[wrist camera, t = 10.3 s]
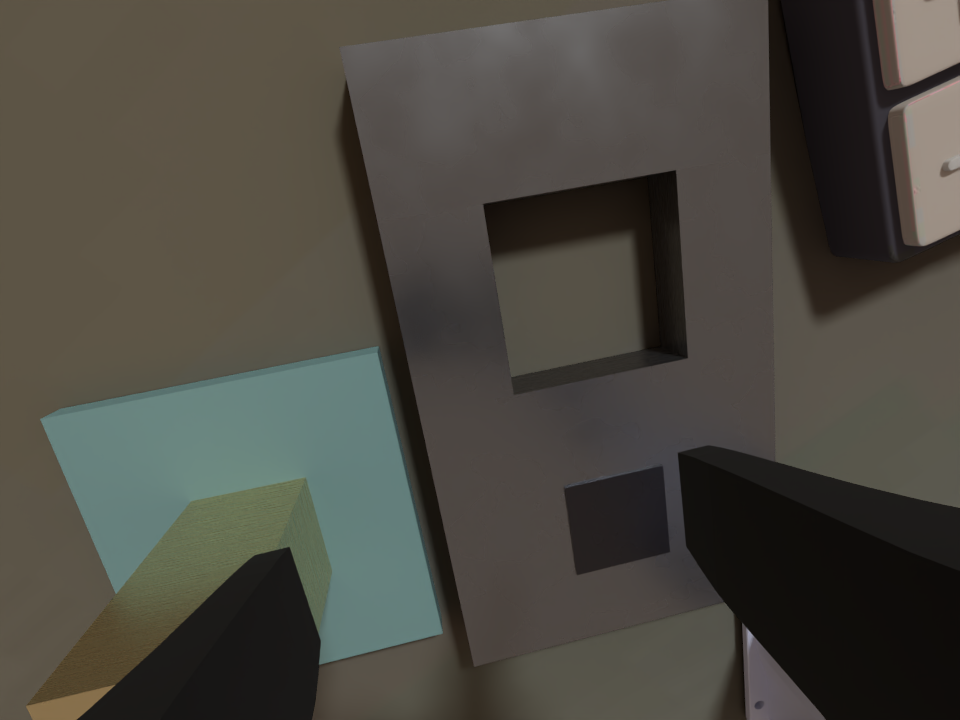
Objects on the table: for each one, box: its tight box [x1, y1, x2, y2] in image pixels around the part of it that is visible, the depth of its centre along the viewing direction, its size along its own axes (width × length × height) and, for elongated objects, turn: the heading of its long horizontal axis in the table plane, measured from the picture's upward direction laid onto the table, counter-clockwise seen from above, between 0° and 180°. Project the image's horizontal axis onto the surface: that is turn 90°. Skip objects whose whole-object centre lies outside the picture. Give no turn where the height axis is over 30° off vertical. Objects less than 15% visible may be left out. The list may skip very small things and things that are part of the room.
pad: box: [40, 346, 443, 665], centre depth 19 cm, size 12×11×1 cm
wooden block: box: [26, 477, 332, 720], centre depth 15 cm, size 4×4×8 cm
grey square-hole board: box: [339, 0, 775, 667], centre depth 19 cm, size 22×13×2 cm, turn 10°
